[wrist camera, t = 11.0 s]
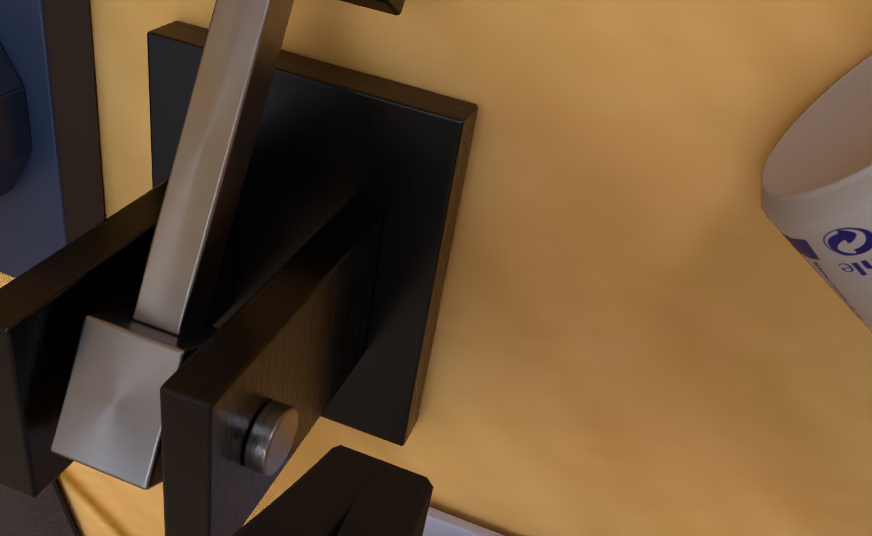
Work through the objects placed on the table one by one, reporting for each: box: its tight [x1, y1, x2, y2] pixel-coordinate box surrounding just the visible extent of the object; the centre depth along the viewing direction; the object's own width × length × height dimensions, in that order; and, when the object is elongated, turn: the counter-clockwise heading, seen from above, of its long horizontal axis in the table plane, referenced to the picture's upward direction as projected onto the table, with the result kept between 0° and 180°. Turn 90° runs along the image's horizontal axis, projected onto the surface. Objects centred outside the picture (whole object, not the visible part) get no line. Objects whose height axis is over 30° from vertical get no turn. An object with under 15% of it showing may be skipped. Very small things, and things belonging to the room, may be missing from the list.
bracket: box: [0, 21, 478, 536], centre depth 19 cm, size 10×8×9 cm
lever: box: [50, 0, 405, 489], centre depth 16 cm, size 11×6×2 cm, turn 170°
